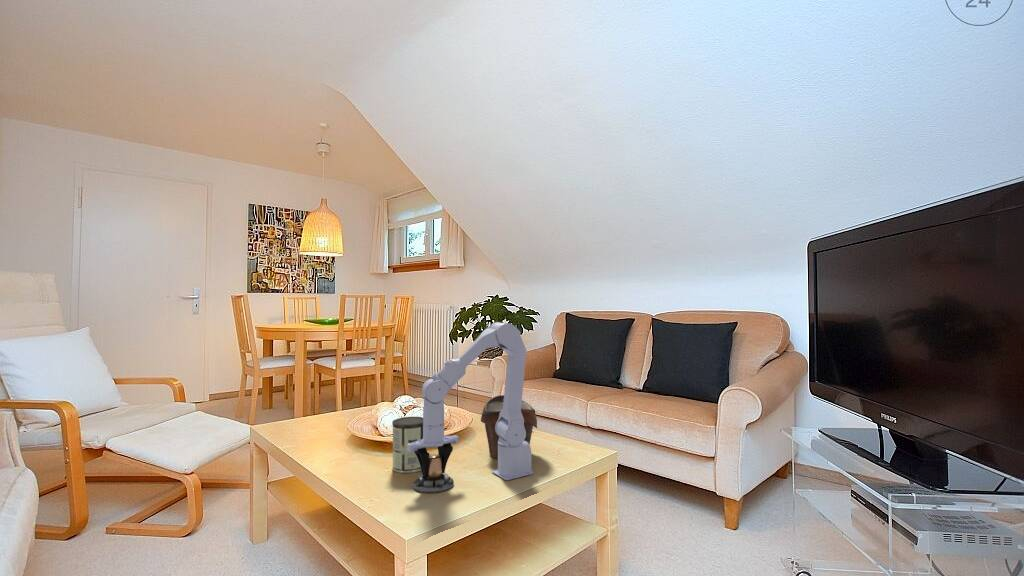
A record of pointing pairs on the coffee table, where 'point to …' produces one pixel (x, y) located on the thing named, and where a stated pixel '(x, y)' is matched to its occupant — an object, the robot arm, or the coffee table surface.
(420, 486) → the flange
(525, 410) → the brown trash bin
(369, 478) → the coffee table surface
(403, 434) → the coffee can
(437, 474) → the pipe stub
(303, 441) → the coffee table surface
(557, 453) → the coffee table surface
